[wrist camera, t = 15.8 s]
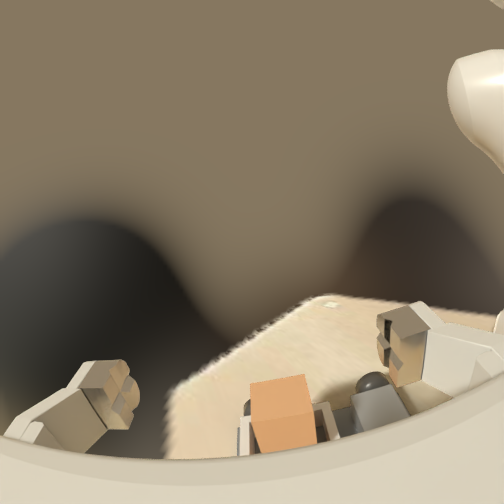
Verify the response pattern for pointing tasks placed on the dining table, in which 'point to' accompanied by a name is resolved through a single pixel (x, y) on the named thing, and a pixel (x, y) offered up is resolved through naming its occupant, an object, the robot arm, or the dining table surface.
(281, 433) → the block
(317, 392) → the dining table surface
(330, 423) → the chassis
